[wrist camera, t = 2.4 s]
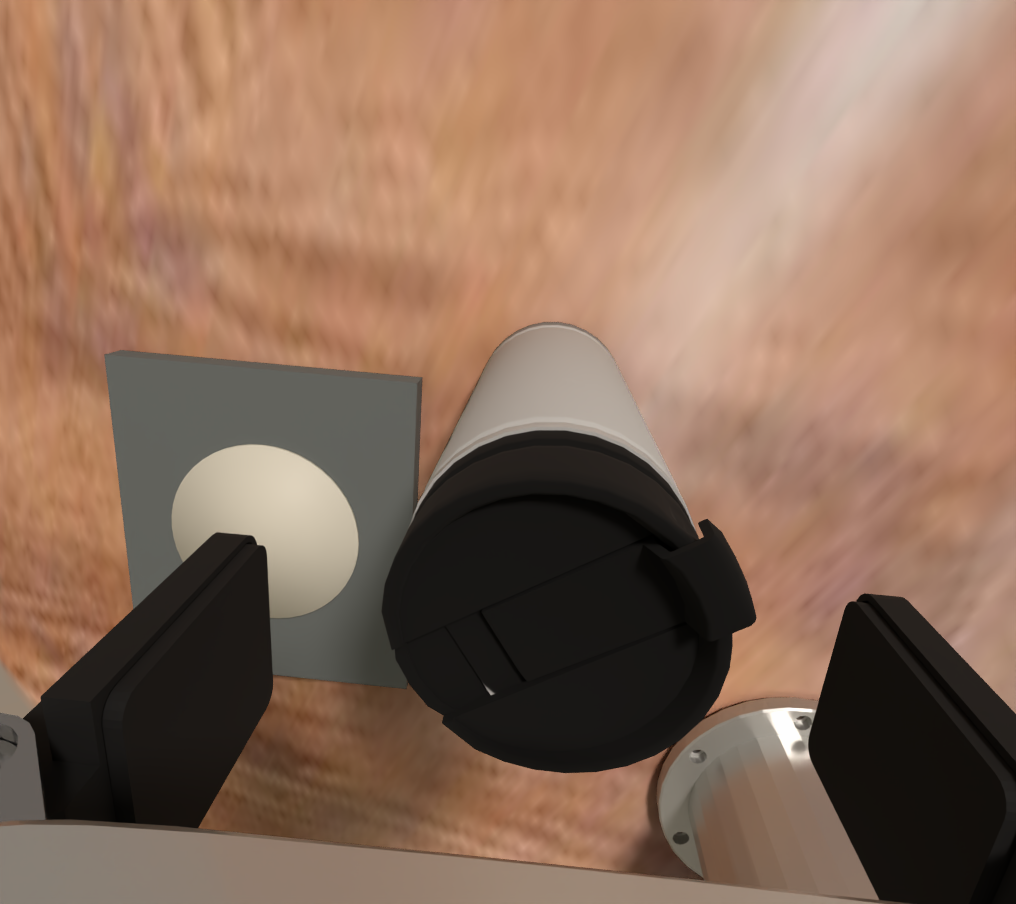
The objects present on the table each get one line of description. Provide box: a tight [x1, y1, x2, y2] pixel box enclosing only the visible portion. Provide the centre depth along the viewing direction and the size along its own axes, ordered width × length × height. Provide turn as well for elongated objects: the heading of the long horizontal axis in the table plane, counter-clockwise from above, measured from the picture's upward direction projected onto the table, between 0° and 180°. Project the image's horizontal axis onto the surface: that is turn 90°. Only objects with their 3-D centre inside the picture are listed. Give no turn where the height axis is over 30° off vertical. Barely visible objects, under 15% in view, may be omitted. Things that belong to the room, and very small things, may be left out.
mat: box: [105, 350, 422, 689], centre depth 32 cm, size 16×14×1 cm
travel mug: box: [381, 322, 756, 773], centre depth 21 cm, size 6×7×20 cm
